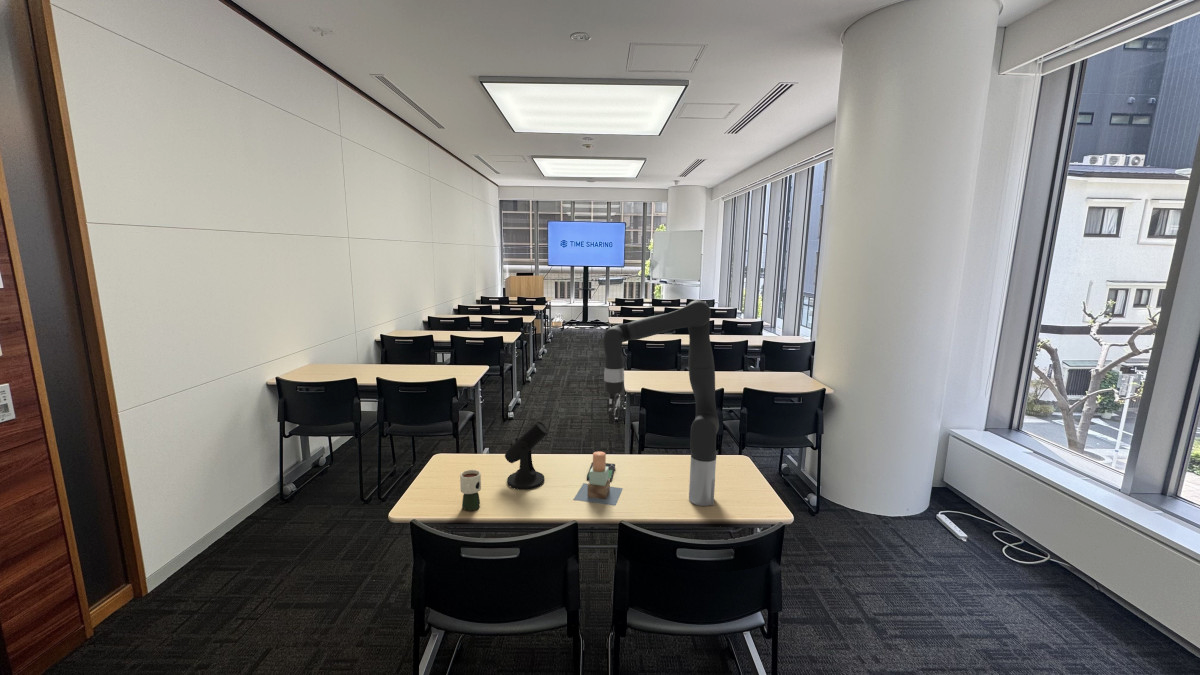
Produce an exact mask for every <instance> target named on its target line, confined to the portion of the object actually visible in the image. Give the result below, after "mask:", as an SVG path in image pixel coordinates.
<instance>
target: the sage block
mask: <svg viewBox="0 0 1200 675" xmlns="http://www.w3.org/2000/svg"><path fill="white" fill-rule="evenodd" d="M588 472H589V480H588V483H589V484H593V485H601V486H605V485H606V483H607V481H608V476H609V467H607V466H605V471H602V472H596V471H594V470H593V467H592V468H591V470H590V471H589V470H588Z"/></svg>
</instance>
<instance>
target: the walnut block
mask: <svg viewBox="0 0 1200 675" xmlns="http://www.w3.org/2000/svg"><path fill="white" fill-rule="evenodd" d="M587 484H588V495H587V497H592V498H599V499H606V498H607V496H608V493H609V491H610V487H611V482H610V479H609V478H608V481H607V483H606V485H605V486H601V485H593V484H589V482H588V483H587Z"/></svg>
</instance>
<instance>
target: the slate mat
mask: <svg viewBox="0 0 1200 675" xmlns="http://www.w3.org/2000/svg"><path fill="white" fill-rule="evenodd" d="M623 490H624V488H623V487H617V486H610V491H609V493H608V496H607V498H606V499H599V498H592V497H587V495H588V483H586V482H583V483H582V484H581V487H580V488H579V490H578V491H577V493H576V494H575V495H574V498H573V501H579V502H587V503H592V504H599V505H608V506H613V507H614V506H616V505H617V504H618V501H619V498H620V496H621V495H622V491H623Z"/></svg>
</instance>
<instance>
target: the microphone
mask: <svg viewBox="0 0 1200 675" xmlns="http://www.w3.org/2000/svg"><path fill="white" fill-rule="evenodd" d="M548 434H549V432H548V429H547V427H546V426H545V424H543V423H542V422H540V421H535V423H533V425H531V426H530V427H529V428H528V429H527V430H526V431H525V432H524V433H523V434H522V435H520V436H519V437H515V438H514V440H515V441H514V442H510V443H509V447H508V449H507V450H506V452H505V454H504V457H505V459H506V461H507V462H508V463H510V464H513V463H516V462H518V461H519V469H517V470H516V471H515V472H512V473H511V474H510V475H508V477H507V479H506V483H507V486H509V487H510V486H511V487H510V488H511V489H514V488H515V489H514V490H518V489H519V490H520V491H521V490H522V491H526V490H527V491H528V490H534V489H536V488H537V489H538V488H539V487H541V486H543V485H544V483H545V476H544V474H543V473H541V472H539V471H537V470H536V469H535V467H534V464H533V458H532V457H533V456H532V450H533V448H534V447H535V446H536V445H537V444H539V443H540V441H542V440H543V439H544V438H545V437H546V436H547V435H548ZM519 490H518V491H519Z"/></svg>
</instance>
